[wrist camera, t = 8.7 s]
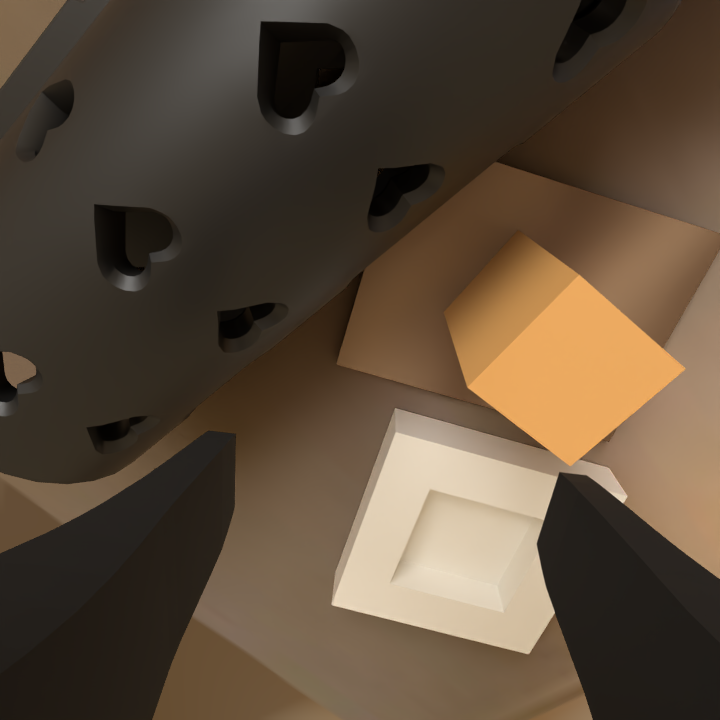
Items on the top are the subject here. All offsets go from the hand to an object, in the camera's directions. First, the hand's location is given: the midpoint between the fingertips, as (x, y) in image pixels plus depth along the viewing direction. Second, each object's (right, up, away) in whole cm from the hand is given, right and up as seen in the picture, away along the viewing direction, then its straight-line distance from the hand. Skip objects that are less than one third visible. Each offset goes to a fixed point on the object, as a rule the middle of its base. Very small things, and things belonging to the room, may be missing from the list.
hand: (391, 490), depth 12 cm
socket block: (+4, -5, +13) cm, 15 cm away
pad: (+5, +5, +9) cm, 12 cm away
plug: (+5, +5, +8) cm, 11 cm away
